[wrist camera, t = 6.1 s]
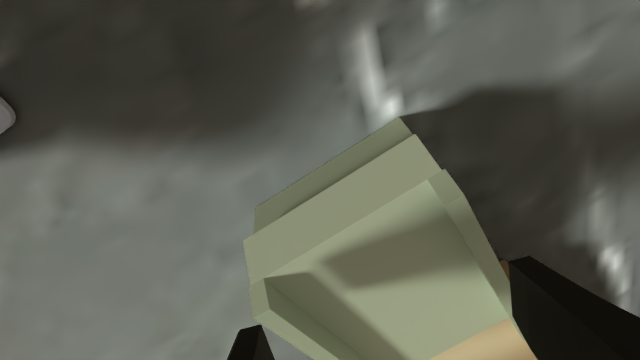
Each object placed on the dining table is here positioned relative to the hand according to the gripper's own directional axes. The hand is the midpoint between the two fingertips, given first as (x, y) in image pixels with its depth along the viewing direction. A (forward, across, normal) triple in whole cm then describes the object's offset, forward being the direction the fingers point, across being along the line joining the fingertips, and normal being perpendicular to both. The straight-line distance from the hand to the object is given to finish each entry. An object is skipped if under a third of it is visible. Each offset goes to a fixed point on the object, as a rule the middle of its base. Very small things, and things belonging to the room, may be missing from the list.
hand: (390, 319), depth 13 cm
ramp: (+7, -1, +3) cm, 8 cm away
